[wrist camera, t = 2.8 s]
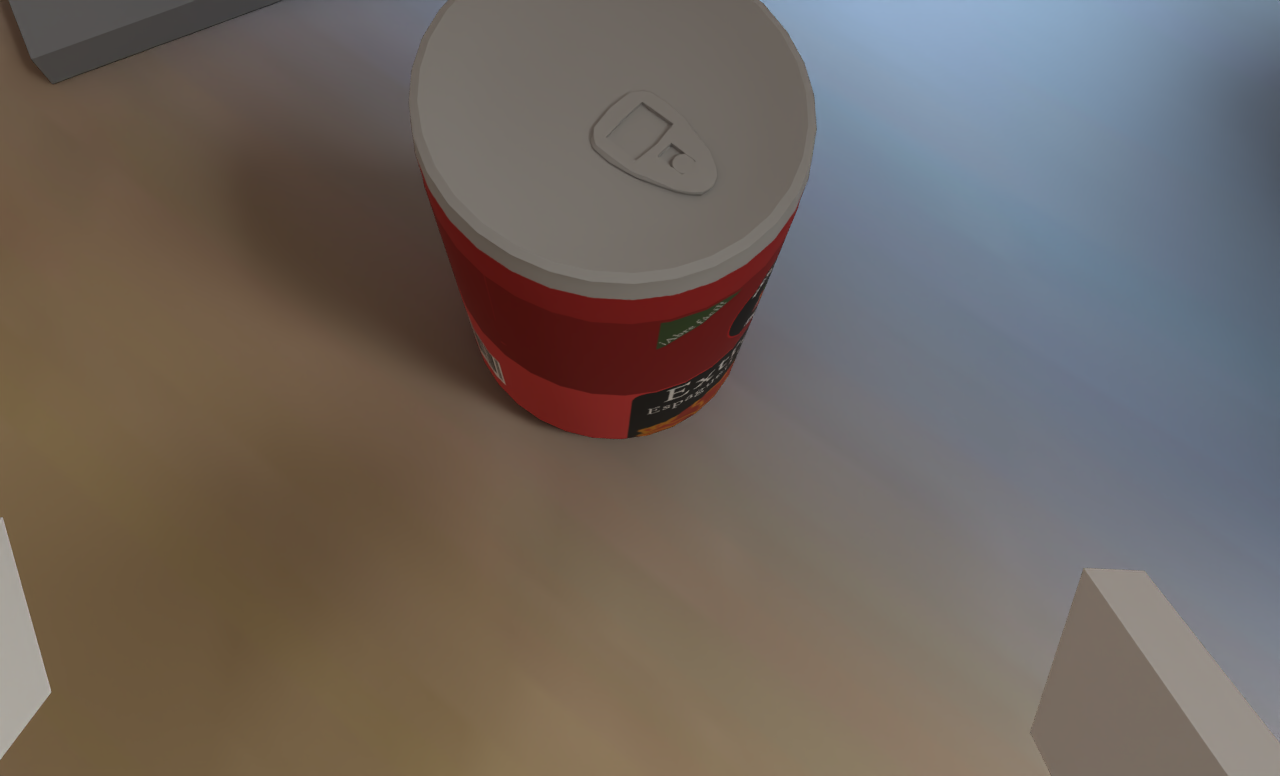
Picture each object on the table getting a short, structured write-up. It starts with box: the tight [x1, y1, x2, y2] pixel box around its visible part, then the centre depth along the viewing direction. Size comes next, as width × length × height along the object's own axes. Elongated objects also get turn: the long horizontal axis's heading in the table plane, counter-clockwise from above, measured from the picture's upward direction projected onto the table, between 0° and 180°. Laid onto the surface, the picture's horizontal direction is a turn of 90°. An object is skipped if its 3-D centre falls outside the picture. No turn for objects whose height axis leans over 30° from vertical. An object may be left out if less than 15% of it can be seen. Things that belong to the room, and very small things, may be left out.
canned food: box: [409, 0, 817, 439], centre depth 23 cm, size 8×8×11 cm
